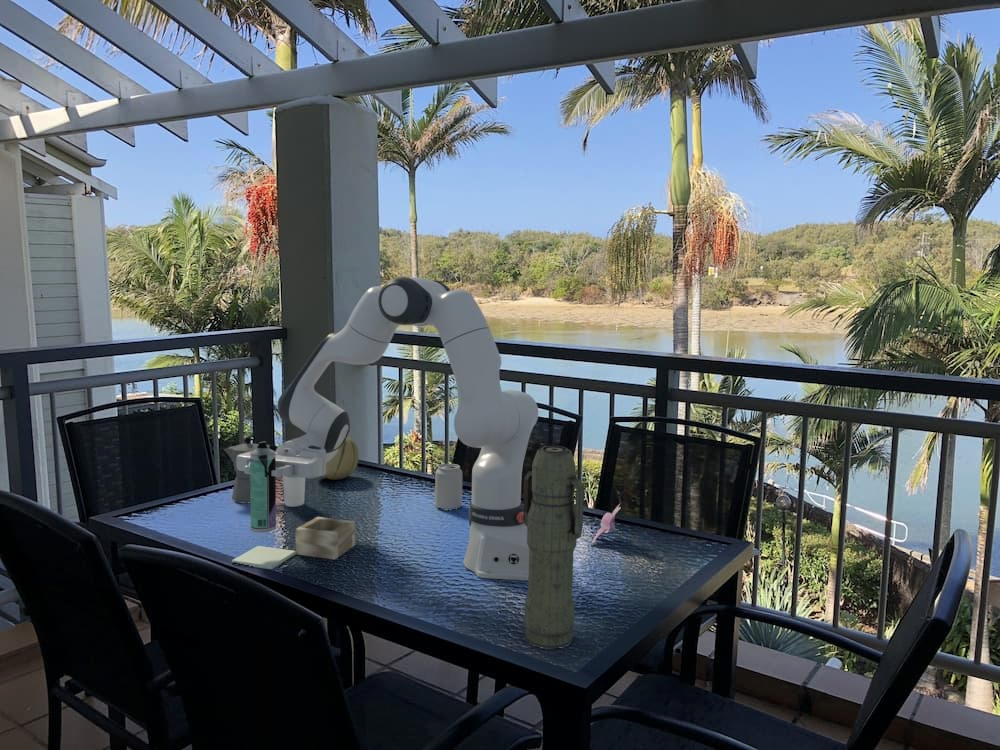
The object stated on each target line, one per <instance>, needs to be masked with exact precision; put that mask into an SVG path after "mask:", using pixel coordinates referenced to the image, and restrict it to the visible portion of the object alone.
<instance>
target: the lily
mask: <svg viewBox="0 0 1000 750" xmlns="http://www.w3.org/2000/svg"><path fill="white" fill-rule="evenodd" d="M620 505H621V503H619V504H618V505H617V506H616V507H615V509H614V510H613V511H612V513H611V512H606V513H605V514H604V515H603V517H602V519H601V520H600V528H599V529H598V530H597V532H596V533H595V535H596V536H595V535H594V537H593V539H592V542H591V544H592V543H593V544H594V543H595V541H596V540H597V539H598V537H599V536H600V535H603V534H606V533H607V534H608V533H610V532H615V533H616V534H617V535H618V536H619V538H620V539H621V540H624V539H623V537H622V536H621V534H620V533H619V531H618V530H617V529H616V520H615V519H616V518H615V517H616V514H617V513H618V512H619V510H620V509H621V506H620Z"/></svg>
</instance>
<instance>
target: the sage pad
mask: <svg viewBox="0 0 1000 750" xmlns="http://www.w3.org/2000/svg"><path fill="white" fill-rule="evenodd" d="M295 555H297V554H296V550H291V549H284V548H276V547H270V546H264V545H257V546H255V547H253V548H251V549H250V550H248V551H246V552H244V553H243V554H241V555H239V556H237V557H235V558H233V559H232V560H231V563H232V562H237V563H240V564H244V565H249V566H248V567H251V566H253V568H259V569H267V570H273V569H274V568H276V567H278V566H279V565H281V564H282V563H284V562H286V561H287V560H289V559H291V558H292V557H294V556H295ZM244 565H243V566H244Z"/></svg>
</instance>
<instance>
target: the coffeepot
mask: <svg viewBox="0 0 1000 750" xmlns="http://www.w3.org/2000/svg"><path fill="white" fill-rule="evenodd" d="M244 439H245V442H244V443H241V444H237V445H233V446H228V447H225V448H224V449H223V451H224V452H226V454H227V456H229V458H230V460H231V461H232V463H233V468H234V470H233V471H235V474H236V475H235V476H236V477H235V478H234V484H233V488H232V489H233V491H232V496H231V499H232V501H233V500H234V501H235V502H234V501H233V502H234V503H237V502H245V503H244V504H249V503H248V502H250V474H245V472H244V471H239V470H238V469H237V465H236V459H237V456H238V455H239V454H243V453H246V452H250V451H254V450H255V449H256V447H257V446H258V443H253V442H251V440H252V438H251V437H250V436H247V437H245V438H244ZM267 446H268V447H269V449H271V450H273V451H276V449H277V448H278V446H276V444H267Z"/></svg>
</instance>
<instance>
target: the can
mask: <svg viewBox="0 0 1000 750" xmlns="http://www.w3.org/2000/svg"><path fill="white" fill-rule="evenodd" d="M434 474H435V479H434V480H435V481H434V482H435V483H434V484H435V487H434V488H435V489H434V491H435V492H434V494H435V495H434V506H435V507H437V508H438V509H439V508H441V509H456V508H458V509H460V507H462V505H463V471H462V469H461V466H460V465H459V464H455V463H442V464H439V465H438V466H437V468H436V470H435V473H434ZM441 509H440V510H441ZM456 510H457V509H456Z"/></svg>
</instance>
